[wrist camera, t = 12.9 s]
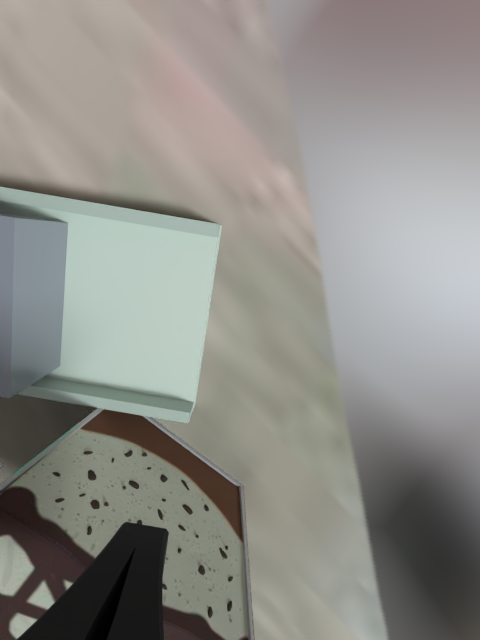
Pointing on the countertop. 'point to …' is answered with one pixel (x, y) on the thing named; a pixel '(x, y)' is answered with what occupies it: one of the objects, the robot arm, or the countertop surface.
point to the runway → (128, 306)
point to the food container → (117, 508)
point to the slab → (30, 299)
